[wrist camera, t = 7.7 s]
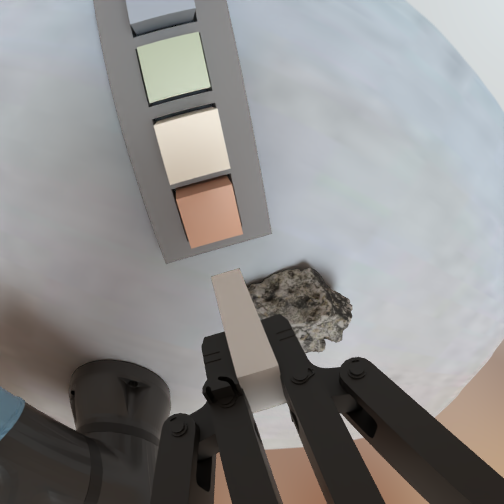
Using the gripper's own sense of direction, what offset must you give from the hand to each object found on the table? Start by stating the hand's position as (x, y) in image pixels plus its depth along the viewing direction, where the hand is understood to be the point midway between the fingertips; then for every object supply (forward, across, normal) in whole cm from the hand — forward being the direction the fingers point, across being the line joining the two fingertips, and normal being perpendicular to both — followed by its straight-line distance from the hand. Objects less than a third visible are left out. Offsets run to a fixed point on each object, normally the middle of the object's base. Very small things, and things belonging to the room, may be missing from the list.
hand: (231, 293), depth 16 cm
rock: (+15, +6, -14) cm, 22 cm away
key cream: (+12, 0, +6) cm, 14 cm away
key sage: (+14, 0, +12) cm, 18 cm away
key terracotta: (+14, 0, 0) cm, 14 cm away
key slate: (+12, 0, +18) cm, 22 cm away
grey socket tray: (+15, 0, +9) cm, 17 cm away
